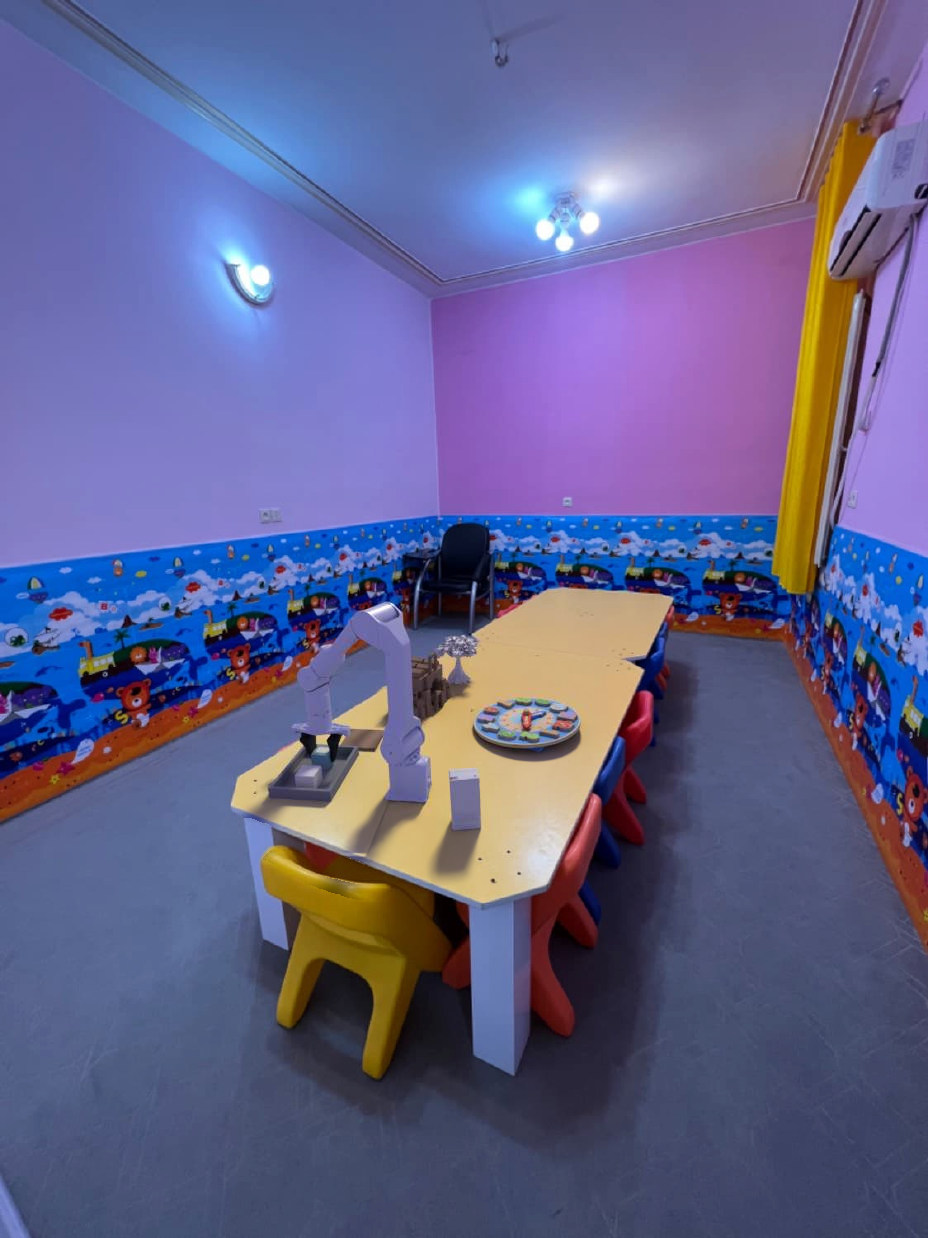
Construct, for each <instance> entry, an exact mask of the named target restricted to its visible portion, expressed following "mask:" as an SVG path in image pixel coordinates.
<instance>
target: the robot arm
mask: <svg viewBox="0 0 928 1238" xmlns="http://www.w3.org/2000/svg"><path fill="white" fill-rule="evenodd" d="M403 614H404V613H403V612H402V611H401V610H400V609H399V608H398V607H397V606H396V605H395V604H394V603H392V602H389V601H383V602H381V603H379V604H377V605H374V606H371V607H369V608H367V609H364V610H359V611H356V612H355V613H354V614H353V616H352V617H350V618H349V619H348V621H347V624H346V625H345V627H344V628H343V630H342V631H341V633H340V634H339V635H338V636H337V637H336V639H335V641H333V643H328V644H324V645H321V646H320V647H319V648H318V653H317V654H316V656H315V657H312V658H311V659H310V660H309V664H308V666H304V667H301V668H299V670H298V672H297V673H296V679H297V683H298V685H299V686H300V688H301V689H302V690H303V692H304V693H303V694H304V700H305V709H306V719H307V722H303V723H294V724H293V725H292V726H291V727H290V729H291V735H297V734H300V737H299V743H301V745H302V747H303V746H304V747H305V748H306V750H307V752H308V753H309V756H310V758H311V754H312V753H313V751H314V750H315V749H316V747H317V746H316V744H317V736H325V735H329V736H328V738H327V739H326V740H325V741H326V745H328V747H329V751H330V759H331V762H334V761H335V760H336V758H337V750H338V745H340V742H341V740H342V737H343V736H344V737H348V736H349V735H350V733H351V725H345V724H341V723H335V722H333V719H332V718H333V717H332V707H331V698H330V697H331V696H330V689H331V682H332V681H333V678H334V673H335V672H336V671H337V670H338V669H339V668H340V667H341V666H342V665H343V663H345V661H346V653H347V652H348V650H350V648H352V646H354V644H356V643H357V642H358V641H359V640H362V641H364V642H365V643H367V644H369V645H371V647H374V648H376V649H377V650H381V651H382V652H383V653H384V660H385V677H386V679H385V680H386V694H387V696H386V697H387V712H388V713H387V714H388V721H387V723H386V725H385V726H384V727H385V728H384V729H383V730H384V731H383V738H382V740H381V742H380V744H379V745H380V747H379V749H380V754H381V756H382V758H383V759H384V760H385V762H386V763H387V764H388V765H387V766H388V778H389V787H388V789H387V791H386V794H385V797H384V799H385V800H388V801H393V802H395V801H396V802H409V803H410V802H411V803H413V802H414V803H426V802H427V800H428V797H429V794H430V790H431V787H432V783H433V781H432V766H431V763H432V761H431V758H430V756H427V755H423V754H421V753H420V752H421V746H423V744H425V739H426V734H425V732H424V730H423V727H422V721H421V720H422V719H419V718H417V717H415V716H414V714H413V691H412V667H411V659H412V651H411V649H412V646H411V645H412V644H411V640H410V637H409V635H408V633H407V630H406V627H405V625H404V615H403ZM311 761H312V760H311Z"/></svg>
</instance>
